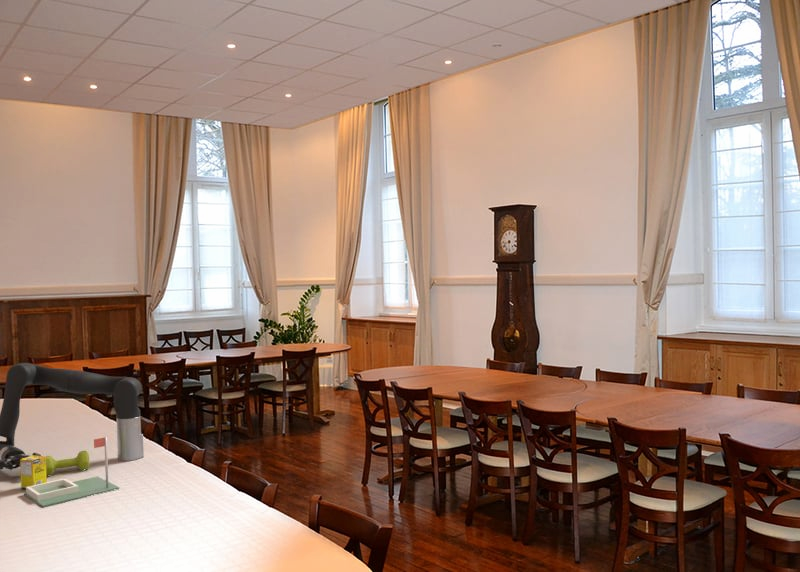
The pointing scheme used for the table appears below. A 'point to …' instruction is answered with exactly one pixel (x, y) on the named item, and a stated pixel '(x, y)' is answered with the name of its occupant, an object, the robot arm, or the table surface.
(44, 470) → the supplement box
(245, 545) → the table surface
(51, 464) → the dumbbell
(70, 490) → the cup
